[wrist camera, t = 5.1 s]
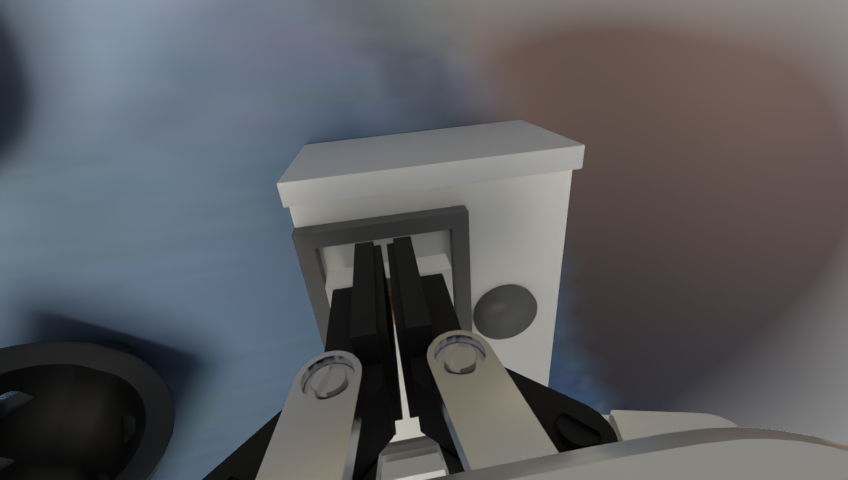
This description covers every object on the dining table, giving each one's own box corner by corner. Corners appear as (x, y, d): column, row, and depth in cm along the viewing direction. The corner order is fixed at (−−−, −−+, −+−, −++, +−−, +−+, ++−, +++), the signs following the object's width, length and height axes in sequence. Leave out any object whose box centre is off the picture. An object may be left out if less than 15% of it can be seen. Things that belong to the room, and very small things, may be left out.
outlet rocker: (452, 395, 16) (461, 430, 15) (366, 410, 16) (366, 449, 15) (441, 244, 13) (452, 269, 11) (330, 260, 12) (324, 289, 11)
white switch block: (507, 452, 29) (536, 533, 24) (384, 476, 28) (388, 566, 23) (520, 119, 17) (585, 144, 12) (304, 144, 16) (276, 183, 11)
